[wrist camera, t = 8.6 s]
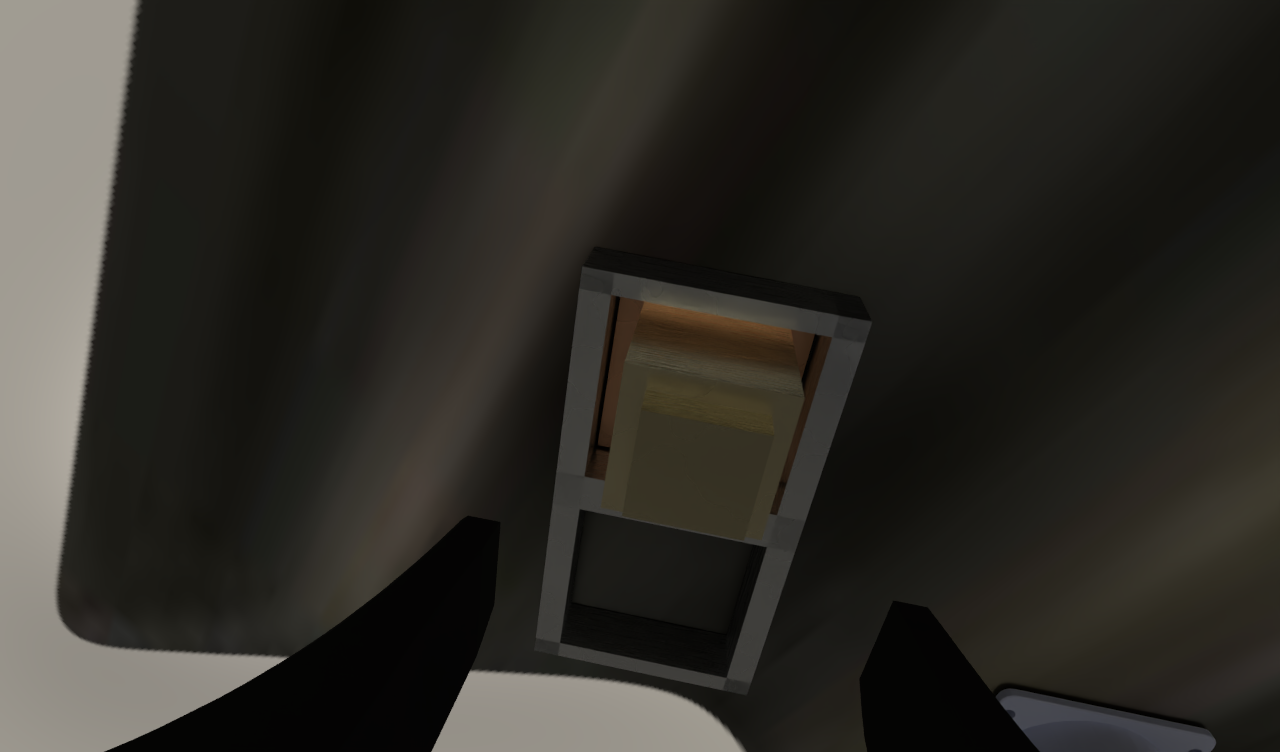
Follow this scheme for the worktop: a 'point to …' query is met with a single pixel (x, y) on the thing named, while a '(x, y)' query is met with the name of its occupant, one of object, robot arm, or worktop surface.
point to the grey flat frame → (582, 489)
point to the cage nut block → (703, 422)
